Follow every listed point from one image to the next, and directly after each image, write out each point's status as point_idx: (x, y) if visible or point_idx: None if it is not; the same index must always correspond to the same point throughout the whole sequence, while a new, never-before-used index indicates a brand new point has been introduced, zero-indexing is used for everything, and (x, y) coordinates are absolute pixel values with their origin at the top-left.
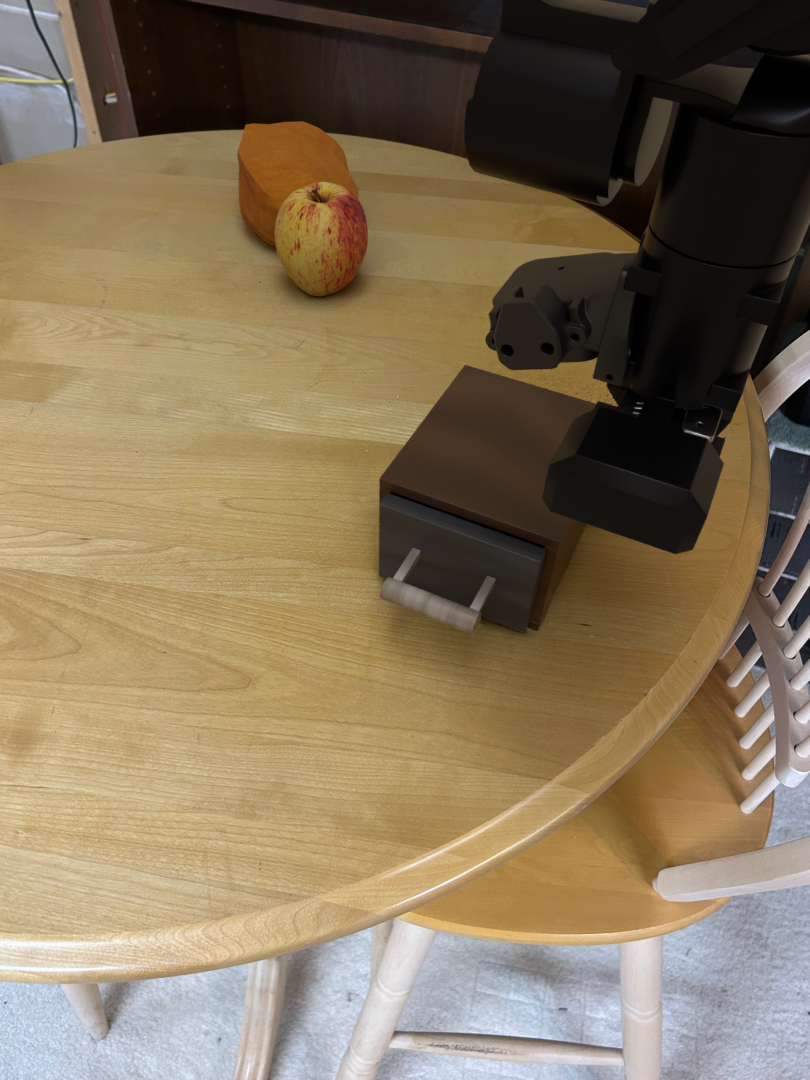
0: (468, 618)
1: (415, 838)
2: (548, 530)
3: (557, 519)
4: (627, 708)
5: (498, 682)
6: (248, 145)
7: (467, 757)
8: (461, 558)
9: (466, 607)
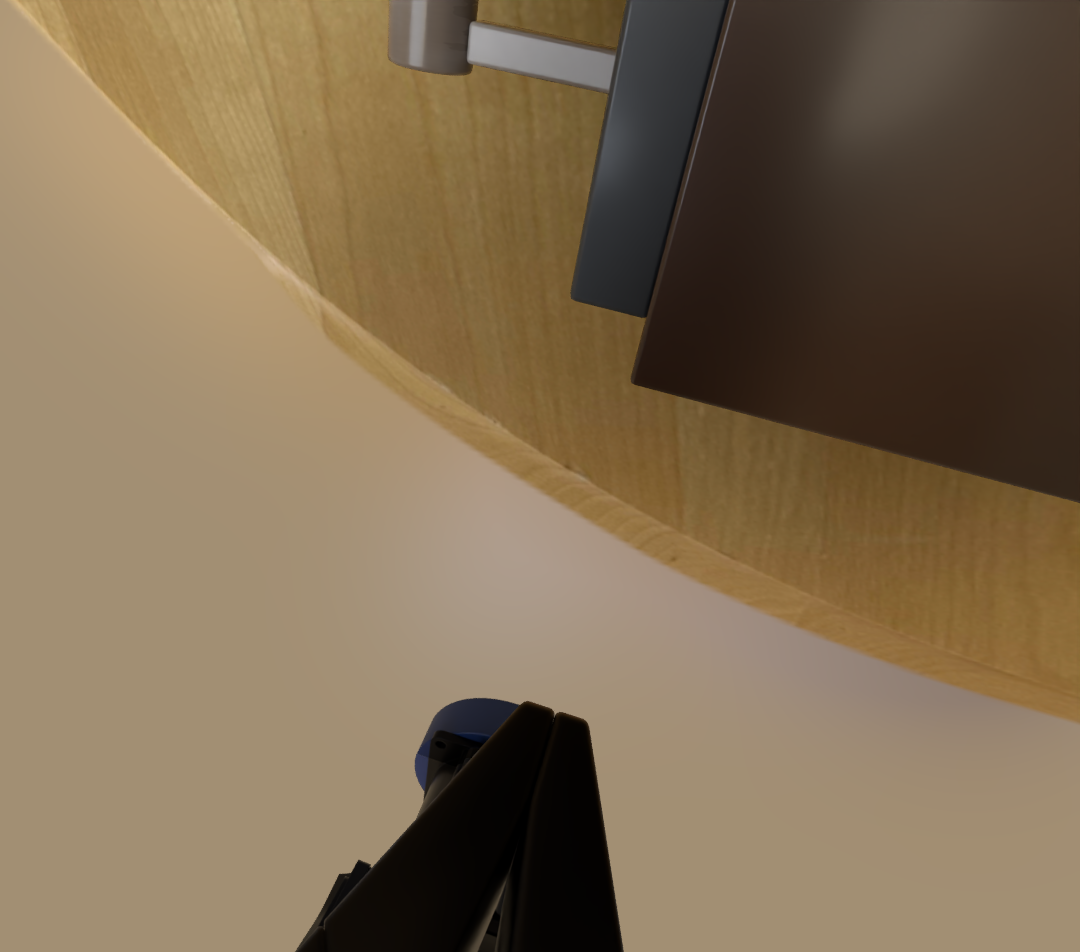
0: (396, 32)
1: (84, 30)
2: (686, 337)
3: (763, 371)
4: (525, 434)
5: (499, 144)
6: None
7: (287, 106)
8: None
9: (442, 9)
